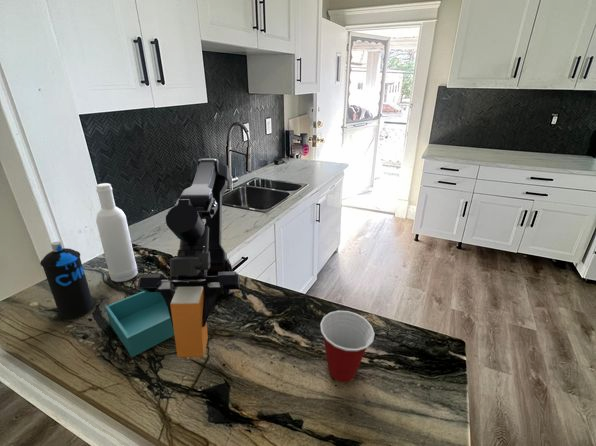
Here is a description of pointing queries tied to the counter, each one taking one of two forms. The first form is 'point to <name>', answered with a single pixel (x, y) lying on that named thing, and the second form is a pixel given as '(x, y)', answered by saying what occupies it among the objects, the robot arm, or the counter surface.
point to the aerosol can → (67, 282)
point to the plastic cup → (345, 342)
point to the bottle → (115, 237)
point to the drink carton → (189, 321)
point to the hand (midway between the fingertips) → (188, 327)
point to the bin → (140, 321)
